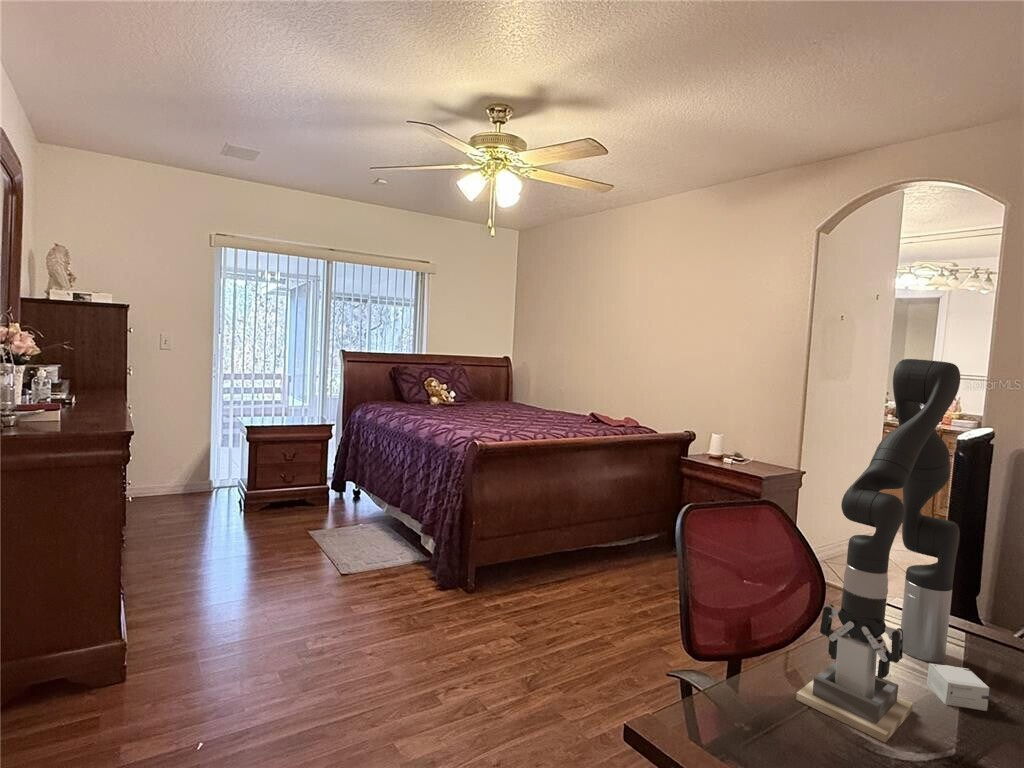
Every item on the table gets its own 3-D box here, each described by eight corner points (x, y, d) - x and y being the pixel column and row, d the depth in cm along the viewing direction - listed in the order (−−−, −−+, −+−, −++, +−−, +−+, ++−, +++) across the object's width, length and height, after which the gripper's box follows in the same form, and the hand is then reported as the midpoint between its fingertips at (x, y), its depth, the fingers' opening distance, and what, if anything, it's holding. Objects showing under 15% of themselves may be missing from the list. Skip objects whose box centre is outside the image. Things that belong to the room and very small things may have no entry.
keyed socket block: (827, 674, 129) (829, 652, 128) (912, 710, 116) (914, 686, 116) (796, 699, 118) (798, 676, 118) (885, 742, 106) (887, 716, 106)
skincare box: (874, 701, 116) (880, 643, 116) (864, 708, 114) (869, 649, 113) (842, 686, 121) (847, 630, 121) (832, 692, 119) (837, 635, 118)
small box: (945, 705, 119) (947, 681, 119) (925, 684, 127) (928, 661, 127) (988, 712, 118) (990, 688, 117) (966, 690, 125) (968, 667, 125)
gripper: (819, 581, 119) (812, 657, 120) (899, 607, 108) (891, 691, 109) (834, 573, 124) (827, 647, 125) (912, 597, 113) (904, 677, 114)
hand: (857, 667), depth 117 cm, fingers open, 8 cm apart
